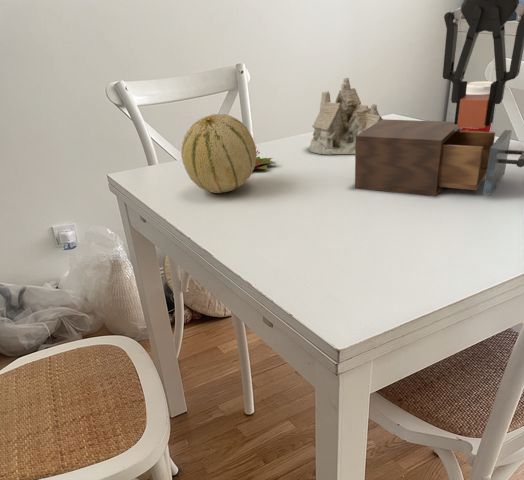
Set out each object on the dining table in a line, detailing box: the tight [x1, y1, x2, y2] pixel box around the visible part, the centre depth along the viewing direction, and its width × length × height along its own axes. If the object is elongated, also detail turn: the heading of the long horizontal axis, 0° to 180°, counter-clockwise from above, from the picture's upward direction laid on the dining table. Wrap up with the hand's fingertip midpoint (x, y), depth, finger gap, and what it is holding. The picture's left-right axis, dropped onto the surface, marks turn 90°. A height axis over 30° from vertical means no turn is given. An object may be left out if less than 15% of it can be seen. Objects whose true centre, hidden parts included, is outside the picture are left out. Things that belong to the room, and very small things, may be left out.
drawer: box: [438, 129, 524, 196], centre depth 98 cm, size 19×13×8 cm, turn 60°
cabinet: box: [354, 118, 461, 197], centre depth 104 cm, size 16×14×10 cm
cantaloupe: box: [180, 113, 257, 194], centre depth 106 cm, size 15×15×15 cm
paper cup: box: [461, 80, 497, 132], centre depth 114 cm, size 8×8×14 cm
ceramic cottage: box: [309, 77, 383, 155], centre depth 126 cm, size 16×16×15 cm
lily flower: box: [254, 144, 277, 170], centre depth 122 cm, size 12×12×5 cm
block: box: [457, 95, 489, 128], centre depth 94 cm, size 4×4×4 cm
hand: (473, 123), depth 95 cm, fingers closed on block, 4 cm apart
